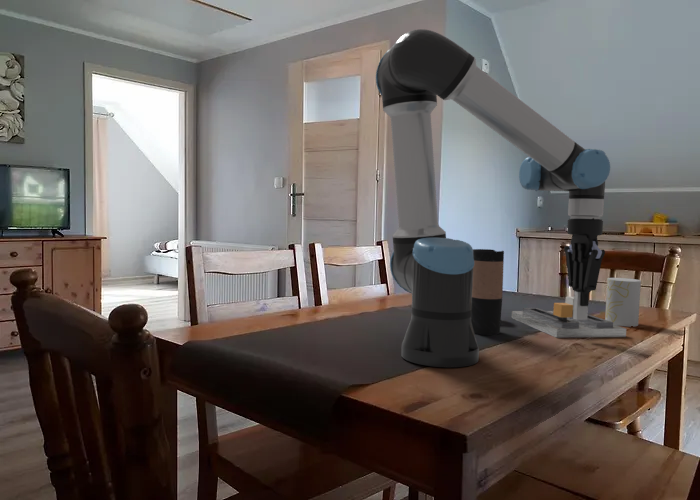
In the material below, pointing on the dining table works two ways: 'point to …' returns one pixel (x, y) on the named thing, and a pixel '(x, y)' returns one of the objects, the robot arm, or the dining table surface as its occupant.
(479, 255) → the travel mug
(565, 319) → the block
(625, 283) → the cup
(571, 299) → the fader right
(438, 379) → the dining table surface
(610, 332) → the console
